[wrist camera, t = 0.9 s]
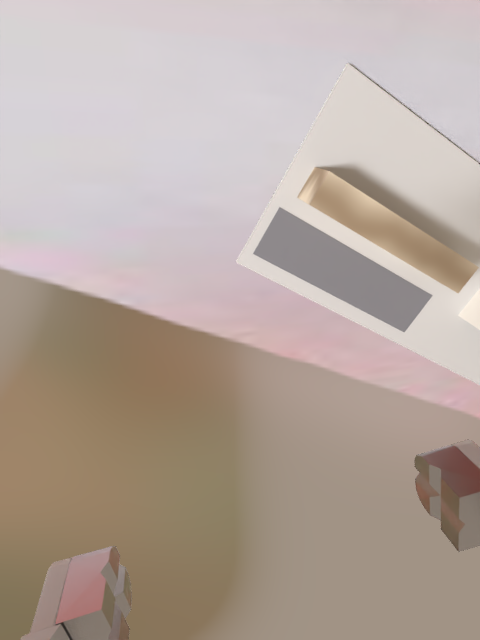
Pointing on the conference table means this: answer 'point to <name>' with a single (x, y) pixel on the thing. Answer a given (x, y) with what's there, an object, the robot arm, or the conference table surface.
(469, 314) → the tile
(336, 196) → the long tan strip
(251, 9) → the conference table surface
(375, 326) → the mat
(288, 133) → the conference table surface
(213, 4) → the conference table surface
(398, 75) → the conference table surface
